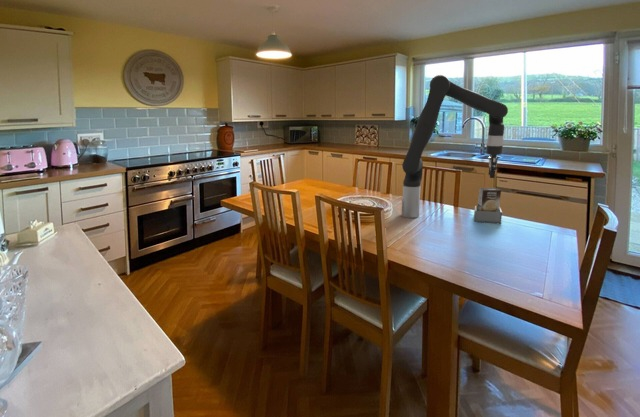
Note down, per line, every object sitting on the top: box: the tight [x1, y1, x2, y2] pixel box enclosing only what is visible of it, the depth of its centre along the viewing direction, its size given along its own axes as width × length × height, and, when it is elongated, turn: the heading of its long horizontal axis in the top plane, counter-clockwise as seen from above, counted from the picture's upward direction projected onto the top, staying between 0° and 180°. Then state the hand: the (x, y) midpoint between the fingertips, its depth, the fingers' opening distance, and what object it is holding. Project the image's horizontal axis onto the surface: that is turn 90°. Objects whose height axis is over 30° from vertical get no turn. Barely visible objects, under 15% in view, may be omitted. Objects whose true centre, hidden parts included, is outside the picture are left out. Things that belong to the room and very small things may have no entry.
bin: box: [473, 205, 503, 224], centre depth 202 cm, size 13×10×6 cm
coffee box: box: [477, 187, 502, 212], centre depth 201 cm, size 9×6×16 cm
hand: (491, 176), depth 197 cm, fingers open, 8 cm apart
